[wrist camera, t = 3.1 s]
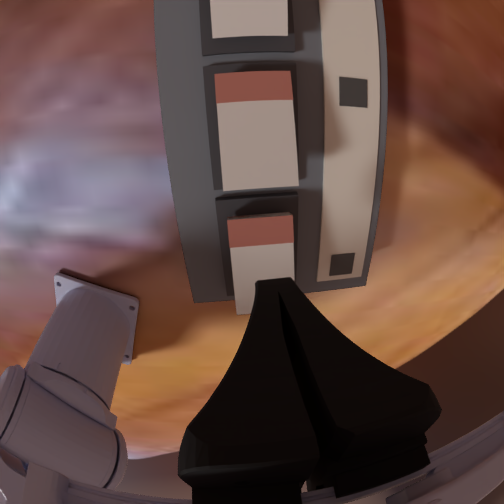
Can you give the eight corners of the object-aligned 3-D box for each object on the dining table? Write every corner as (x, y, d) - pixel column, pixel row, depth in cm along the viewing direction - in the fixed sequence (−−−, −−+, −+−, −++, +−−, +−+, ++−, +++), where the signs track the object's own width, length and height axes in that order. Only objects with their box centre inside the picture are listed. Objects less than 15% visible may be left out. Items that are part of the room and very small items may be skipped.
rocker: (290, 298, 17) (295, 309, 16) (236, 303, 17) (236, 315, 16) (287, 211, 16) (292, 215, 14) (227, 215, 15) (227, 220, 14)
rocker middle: (292, 184, 13) (299, 186, 12) (224, 188, 13) (222, 191, 12) (284, 80, 12) (290, 70, 11) (216, 83, 12) (214, 74, 10)
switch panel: (351, 262, 22) (368, 289, 19) (197, 276, 22) (193, 307, 19) (355, -26, 10) (379, -43, 8) (164, -28, 10) (152, -50, 7)
